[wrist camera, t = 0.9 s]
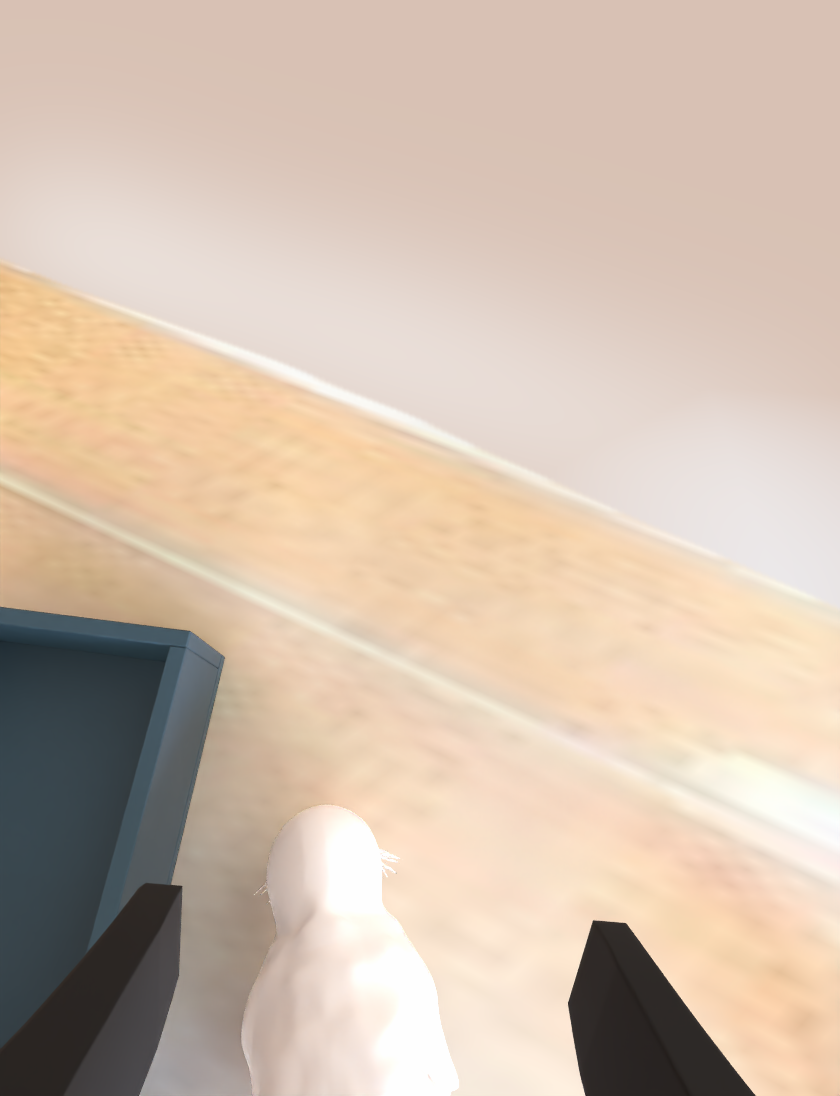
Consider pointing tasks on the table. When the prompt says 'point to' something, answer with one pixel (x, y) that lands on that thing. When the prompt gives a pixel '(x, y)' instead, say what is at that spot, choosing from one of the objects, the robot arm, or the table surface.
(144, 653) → the bin
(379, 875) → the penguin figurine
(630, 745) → the table surface
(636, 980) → the robot arm
